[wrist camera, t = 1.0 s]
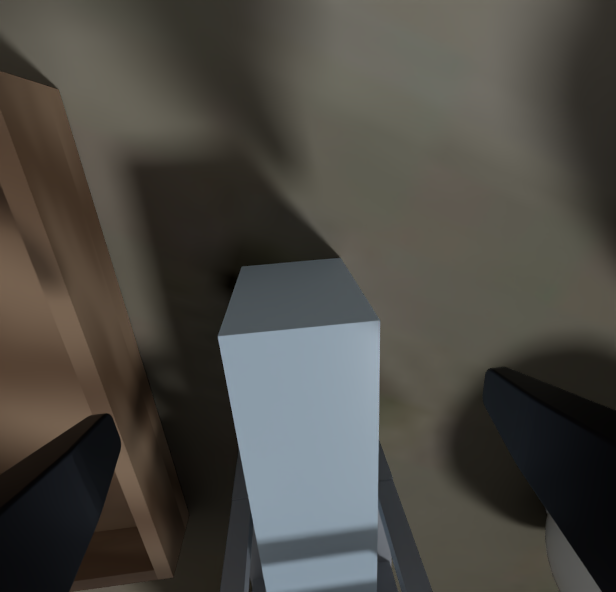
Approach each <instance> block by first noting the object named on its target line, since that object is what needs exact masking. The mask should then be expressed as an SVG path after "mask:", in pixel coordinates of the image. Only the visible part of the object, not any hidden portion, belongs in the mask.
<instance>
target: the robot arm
mask: <svg viewBox="0 0 616 592" xmlns="http://www.w3.org/2000/svg"><path fill="white" fill-rule="evenodd" d="M483 403H484V406H485V408H486V410H487V412H488V413H489V415H490V417H491V419H492V421H493V423H494V425H495V426H496V428H497V430H498V432H499V434H500V436H501V437H502V439H503V441H504V443H505V445H506V447H507V449H508V450H509V452H510V454H511V456H512V458H513V459H514V461H515V463H516V464H517V466H518V468H519V469H520V471H521V472H522V474H523V475H524V477H525V478H526V480H527V481H528V483H529V484H530V486H531V487H532V489H533V490H534V492H535V493H536V495H537V496H538V498H539V499H540V501H541V502H542V504H543V505H544V507H545V508H546V510H547V511H548V512H549V514H550V515H551V517H552V518H553V520H554V521H555V523H556V524H557V526H558V527H559V529H560V530H561V532H562V533H563V535H564V536H565V538H566V539H567V541H568V542H569V544H570V545H571V547H572V548H573V550H574V551H575V553H576V554H577V556H578V557H579V559H580V560H581V562H582V563H583V565H584V566H585V568H586V569H587V571H588V572H589V574H590V575H591V576H592V578H593V579H594V581H595V582H596V584H597V585H598V587H599V588H600V590H601V591H602V592H616V411H615V410H613V409H610V408H608V407H605V406H603V405H600V404H598V403H595V402H593V401H590V400H588V399H585V398H583V397H580V396H578V395H575V394H573V393H570V392H568V391H565V390H562V389H560V388H557V387H555V386H552V385H550V384H547V383H545V382H542V381H540V380H537V379H535V378H532V377H530V376H527V375H525V374H522V373H520V372H517V371H515V370H512V369H510V368H507V367H497V368H490V369H488V370H487V371H486V374H485V380H484V388H483ZM120 451H121V439H120V436H119V434H118V431H117V428H116V425H115V423H114V420H113V418H112V416H111V415H110V414H108V413H103V414H94V415H90V416H88V417H86V418H85V419H83V420H82V421H80V422H79V423H77V424H76V425H74V426H73V427H71V428H70V429H68V430H67V431H65V432H64V433H62V434H61V435H59V436H58V437H56V438H55V439H53V440H52V441H50V442H49V443H47V444H45V445H44V446H42V447H41V448H39V449H38V450H36V451H35V452H33V453H32V454H30V455H29V456H27V457H26V458H24V459H23V460H21V461H20V462H18V463H17V464H15V465H14V466H12V467H11V468H9V469H8V470H6V471H5V472H3V473H2V474H0V592H69V591H70V589H71V586H72V584H73V582H74V579H75V577H76V574H77V572H78V570H79V567H80V565H81V562H82V560H83V558H84V555H85V553H86V550H87V548H88V546H89V543H90V541H91V538H92V536H93V533H94V531H95V529H96V526H97V523H98V521H99V518H100V515H101V512H102V509H103V507H104V503H105V500H106V497H107V493H108V490H109V487H110V484H111V480H112V477H113V474H114V471H115V467H116V464H117V461H118V458H119V454H120Z"/></svg>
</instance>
